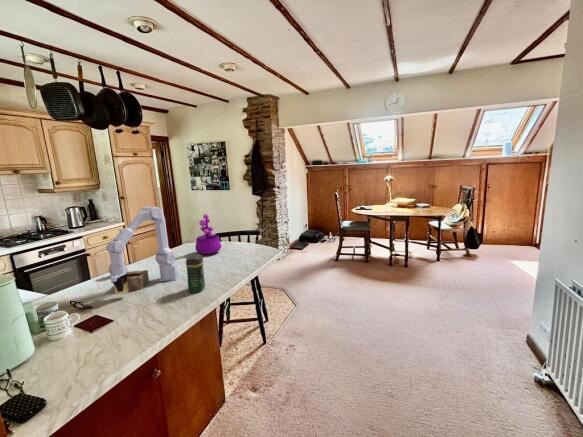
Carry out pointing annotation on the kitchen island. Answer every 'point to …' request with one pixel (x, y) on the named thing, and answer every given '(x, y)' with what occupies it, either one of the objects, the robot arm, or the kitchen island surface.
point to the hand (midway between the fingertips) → (121, 290)
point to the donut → (110, 269)
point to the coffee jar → (195, 273)
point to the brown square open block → (137, 279)
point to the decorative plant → (207, 238)
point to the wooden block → (125, 288)
